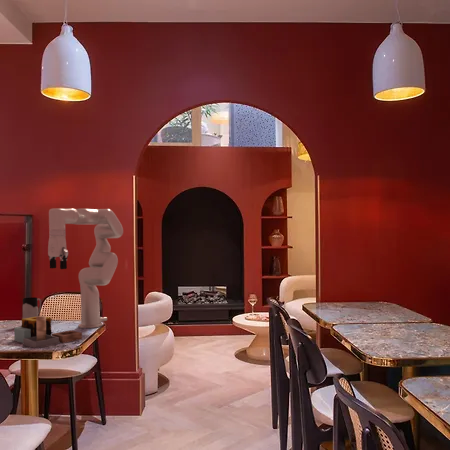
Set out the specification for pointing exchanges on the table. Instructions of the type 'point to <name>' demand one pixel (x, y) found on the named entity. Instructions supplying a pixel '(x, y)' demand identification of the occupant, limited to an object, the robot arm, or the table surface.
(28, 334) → the block
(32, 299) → the glass holder
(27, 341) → the tray
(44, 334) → the dowel
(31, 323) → the candle
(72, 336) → the socket block
